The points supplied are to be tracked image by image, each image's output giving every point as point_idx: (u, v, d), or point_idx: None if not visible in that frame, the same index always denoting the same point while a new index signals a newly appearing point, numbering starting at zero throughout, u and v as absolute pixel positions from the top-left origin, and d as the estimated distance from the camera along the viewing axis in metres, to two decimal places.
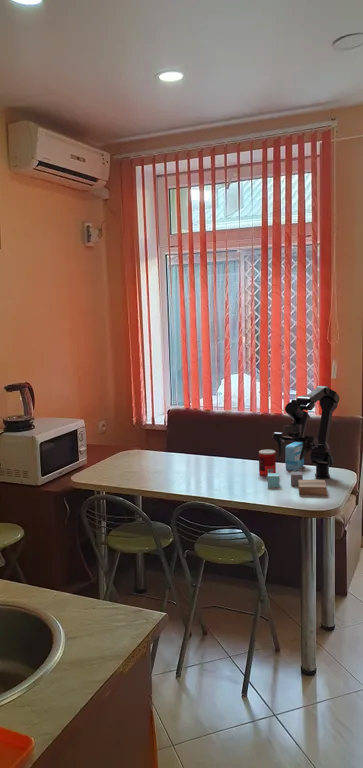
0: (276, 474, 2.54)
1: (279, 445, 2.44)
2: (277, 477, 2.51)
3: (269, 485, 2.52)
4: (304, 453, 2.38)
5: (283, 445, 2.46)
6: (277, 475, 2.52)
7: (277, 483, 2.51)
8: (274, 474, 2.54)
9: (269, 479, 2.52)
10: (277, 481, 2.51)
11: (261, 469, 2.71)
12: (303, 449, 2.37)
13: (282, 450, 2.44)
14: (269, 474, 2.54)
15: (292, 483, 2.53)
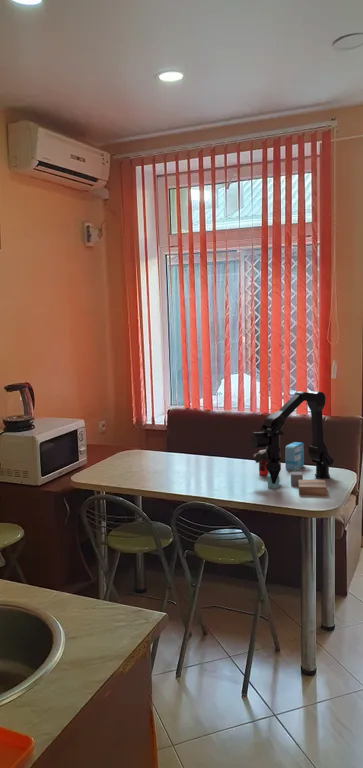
0: None
1: None
2: (277, 477, 2.51)
3: (269, 485, 2.52)
4: (273, 477, 2.48)
5: None
6: None
7: (277, 483, 2.51)
8: None
9: (269, 479, 2.52)
10: (277, 481, 2.51)
11: (261, 469, 2.71)
12: (270, 474, 2.48)
13: None
14: (269, 474, 2.54)
15: (292, 483, 2.53)
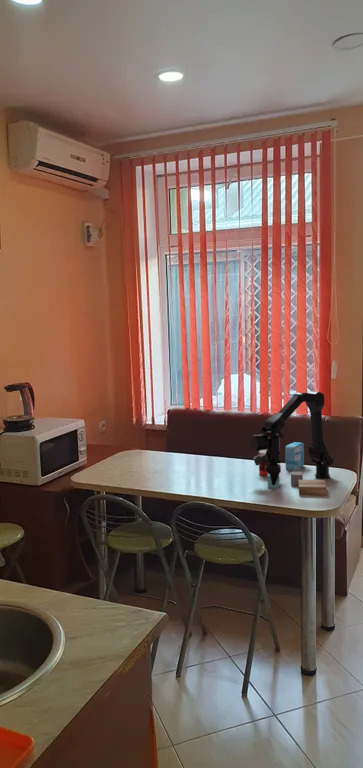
0: None
1: None
2: None
3: (269, 485, 2.52)
4: (273, 478, 2.50)
5: None
6: None
7: (277, 482, 2.51)
8: None
9: (269, 479, 2.52)
10: (277, 481, 2.51)
11: (261, 469, 2.71)
12: (270, 476, 2.50)
13: None
14: (269, 474, 2.54)
15: (292, 483, 2.53)
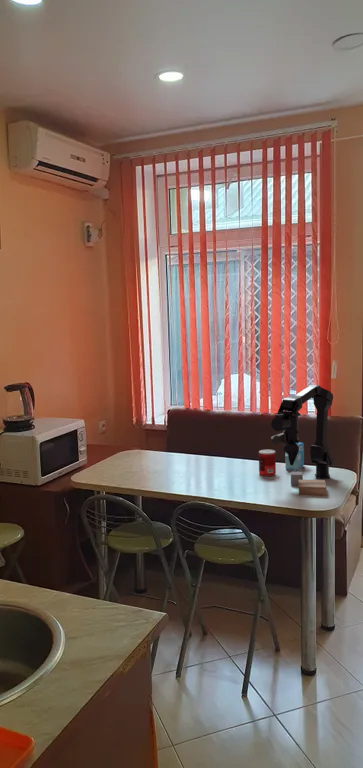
0: None
1: None
2: None
3: (287, 465, 2.46)
4: (291, 458, 2.44)
5: None
6: None
7: (295, 463, 2.45)
8: None
9: (287, 459, 2.46)
10: (295, 461, 2.45)
11: (261, 469, 2.71)
12: (288, 455, 2.44)
13: None
14: (287, 454, 2.48)
15: (292, 483, 2.53)
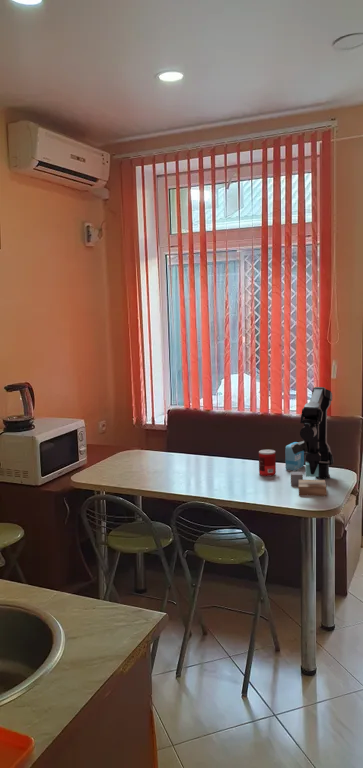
0: None
1: None
2: None
3: (308, 474, 2.41)
4: (312, 467, 2.39)
5: None
6: None
7: (316, 472, 2.40)
8: None
9: (308, 468, 2.40)
10: (316, 470, 2.40)
11: (261, 469, 2.71)
12: (309, 464, 2.39)
13: None
14: (307, 463, 2.43)
15: (292, 483, 2.53)
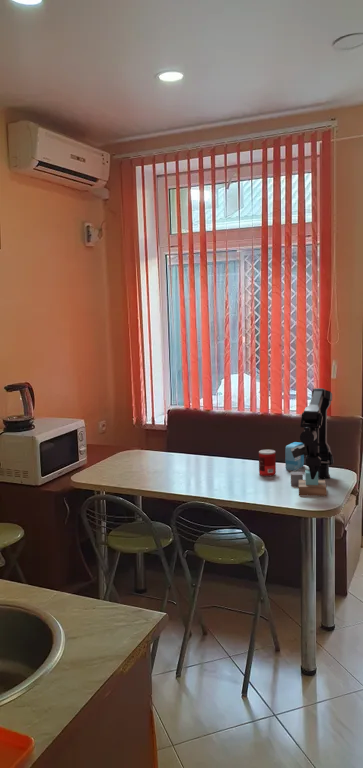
0: None
1: None
2: (316, 474, 2.40)
3: (307, 482, 2.41)
4: (312, 472, 2.38)
5: None
6: None
7: (316, 480, 2.41)
8: None
9: (307, 476, 2.41)
10: (316, 478, 2.40)
11: (261, 469, 2.71)
12: (309, 469, 2.38)
13: None
14: (307, 471, 2.44)
15: (292, 483, 2.53)
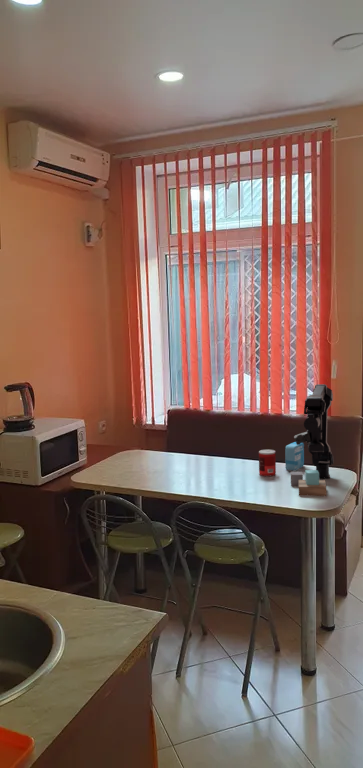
0: (315, 471, 2.43)
1: None
2: (317, 474, 2.40)
3: (308, 482, 2.41)
4: (315, 459, 2.38)
5: None
6: (316, 472, 2.42)
7: (317, 480, 2.41)
8: (313, 471, 2.43)
9: (308, 476, 2.41)
10: (317, 478, 2.41)
11: (261, 469, 2.71)
12: (312, 456, 2.39)
13: None
14: (307, 471, 2.44)
15: (292, 483, 2.53)
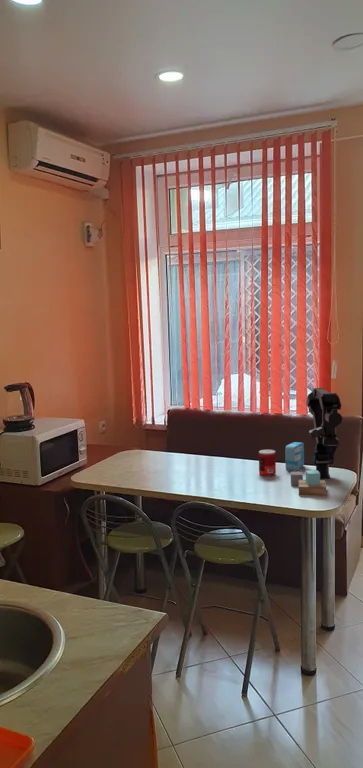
0: (315, 471, 2.43)
1: None
2: (318, 474, 2.40)
3: (309, 483, 2.40)
4: (330, 453, 2.47)
5: None
6: (317, 472, 2.41)
7: (318, 480, 2.40)
8: (313, 471, 2.43)
9: (309, 477, 2.40)
10: (318, 478, 2.40)
11: (261, 469, 2.71)
12: (327, 450, 2.47)
13: None
14: (308, 471, 2.43)
15: (292, 483, 2.53)
